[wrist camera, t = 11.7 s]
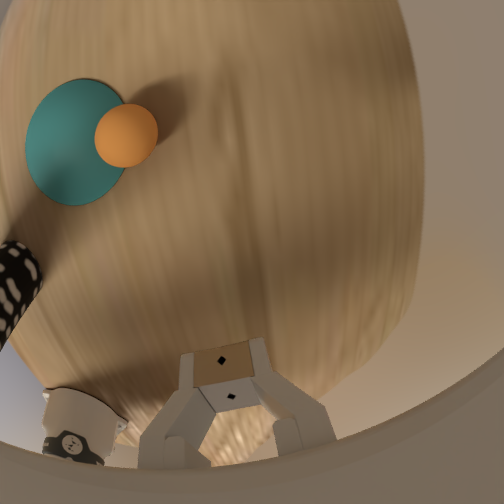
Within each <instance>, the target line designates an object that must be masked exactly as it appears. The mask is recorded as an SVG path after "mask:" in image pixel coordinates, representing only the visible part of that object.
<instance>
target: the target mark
mask: <svg viewBox="0 0 504 504" xmlns="http://www.w3.org/2000/svg"><path fill="white" fill-rule="evenodd" d="M119 105H123V103H122V101H121V99H120V98H119V97H118V96H117V94H116V93H115V92H114V91H113V90H111V89H110V88H109V87H107V86H106V85H104V84H102V83H99V82H97V81H92V80H74V81H71V82H67V83H65V84H63V85H61V86H59V87H57V88H56V89H54V90H53V91H52V92H50V93H49V94H48V95H47V96H46V97H45V98H44V99H43V100H42V102H41V103H40V104H39V106H38V107H37V109H36V110H35V112H34V114H33V116H32V118H31V121H30V124H29V127H28V130H27V135H26V143H25V152H26V160H27V165H28V168H29V171H30V174H31V176H32V178H33V180H34V182H35V183H36V185H37V186H38V187H39V189H40V190H41V191H42V192H43V193H44V194H45V195H46V196H48V197H49V198H51V199H52V200H54V201H56V202H59V203H61V204H65V205H83V204H87V203H90V202H92V201H95V200H96V199H98V198H100V197H101V196H103V195H104V194H105V193H106V192H108V191H109V190H110V189H111V188H112V187H113V186H114V184H115V183H116V182H117V180H118V179H119V177H120V176H121V174H122V172H123V170H124V168H121V167H115V166H112V165H110V164H108V163H106V162H105V161H104V160H103V159H102V158H101V157H100V155H99V154H98V152H97V150H96V146H95V132H96V128H97V125H98V123H99V121H100V120H101V118H102V117H103V116H104V115H105V114H106V113H107V112H108V111H110V110H111V109H113V108H114V107H117V106H119Z"/></svg>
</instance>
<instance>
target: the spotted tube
mask: <svg viewBox="0 0 504 504" xmlns="http://www.w3.org/2000/svg"><path fill="white" fill-rule="evenodd" d="M41 287H42V273H41V269H40V267H39V264H38V262H37V260H36V259H35V257H34V256H33V254H32V253H31V252H30V251H29V250H28V248H26V247H25V246H24V245H23V244H21V243H19V242H17V241H6V242H5V243H3V244H2V245H1V246H0V351H1V350H2V348H3V346H4V344H5V343H6V341H7V339H8V338H9V336H10V334H11V333H12V331H13V329H14V328H15V326H16V325H17V323H18V322H19V320H20V319H21V317H22V316H23V314H24V313H25V311H26V310H27V308H28V307H29V305H30V304H31V302H32V301H33V300H34V298H35V297H36V295H37V294H38V293H39V291H40V289H41Z"/></svg>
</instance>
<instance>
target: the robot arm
mask: <svg viewBox="0 0 504 504" xmlns="http://www.w3.org/2000/svg"><path fill="white" fill-rule="evenodd" d="M43 397H44V398H45V400H46V402H47V404H46V408H45V411H44V415H43V419H42V424H41V425H42V427H43V430H44V431H45V433H46V436H47V437H46V438H45V441H44V444H43V450H42V453H43V454H39V453H36V452H32V451H29V450H25V449H22V448H19V447H16V446H13V445H10V444H7V443H5V442H2V441H0V504H504V348H503V349H502V350H500V351H499V352H498V353H497V354H496V355H494V356H493V357H492V358H490V359H489V360H488V361H486V362H485V363H484V364H483V365H481V366H480V367H479V368H477V369H476V370H474V371H473V372H471V373H470V374H469V375H467V376H466V377H464V378H463V379H461V380H460V381H458V382H457V383H455V384H454V385H452V386H450V387H449V388H447V389H446V390H444V391H442V392H441V393H439V394H437V395H436V396H434V397H432V398H430V399H429V400H427V401H425V402H423V403H421V404H419V405H418V406H416V407H414V408H412V409H410V410H408V411H406V412H404V413H402V414H400V415H398V416H396V417H393V418H392V419H389V420H387V421H385V422H383V423H380V424H378V425H376V426H373V427H371V428H368V429H366V430H363V431H361V432H358V433H356V434H353V435H350V436H347V437H345V438H343V439H339V440H337V439H336V436H335V433H334V431H333V428H332V425H331V422H330V419H329V417H328V414H327V411H326V409H325V406H323V405H322V404H321V403H319V402H318V401H316V400H315V399H313V398H312V397H311V396H309V395H308V394H306V393H305V392H303V391H302V390H301V389H299V388H298V387H297V386H295V385H294V384H292V383H291V382H290V381H288V380H287V379H286V378H284V377H283V376H282V375H280V374H279V373H278V372H276V371H274V372H273V370H272V366H271V363H270V359H269V356H268V352H267V349H266V345H265V342H264V338H263V337H259V338H255V339H251V340H247V341H243V342H239V343H235V344H231V345H226V346H222V347H218V348H213V349H208V350H202V351H196V352H192V353H186V354H182V355H181V358H180V371H179V389H178V391H174V393H173V394H172V395H171V397H170V398H169V399H168V401H167V402H166V403H165V405H164V406H163V407H162V409H161V410H160V411H159V413H158V414H157V415H156V417H155V418H154V419H153V420H152V422H151V423H150V424H149V426H148V427H147V428H146V430H145V431H144V432H143V434H142V435H141V436H140V443H139V454H138V468H137V469H134V468H119V467H108V466H104V463H105V462H104V459H105V457H107V456H110V455H111V454H112V453H113V452H114V450H115V440H116V436H117V435H118V434H119V433H120V432H121V431H122V430H124V429H125V428H126V427H127V423H128V422H127V421H126V420H124V419H123V418H121V417H119V416H118V415H116V414H115V412H114V411H113V410H112V409H111V408H109V407H108V406H107V405H105V404H104V403H102V402H101V401H99V400H97V399H96V398H94V397H92V396H89V395H87V394H85V393H82V392H79V391H76V390H72V389H67V388H58V389H55V390H43ZM255 405H262V406H263V407H264V408H265V409H266V410H267V411H268V412H269V413H270V414H272V415H273V416H274V417H275V418H276V419H277V421H275V423H274V424H273V430H274V435H275V440H276V445H277V450H278V455H279V456H278V457H274V458H269V459H264V460H259V461H253V462H247V463H240V464H233V465H226V466H217V467H211V461H210V460H208V459H207V458H206V457H205V456H203V455H202V454H201V453H200V452H199V451H198V449H199V447H200V445H201V443H202V441H203V439H204V437H205V435H206V434H207V432H208V430H209V428H210V426H211V424H212V422H213V420H214V418H215V416H216V413H219V412H224V411H229V410H234V409H239V408H245V407H250V406H255Z"/></svg>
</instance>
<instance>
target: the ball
mask: <svg viewBox="0 0 504 504" xmlns="http://www.w3.org/2000/svg"><path fill="white" fill-rule="evenodd" d="M157 138H158V127H157V123H156V121H155V119H154V117H153V115H152V114H151V113H150V112H149V111H148V110H147V109H145V108H144V107H142V106H139V105H135V104H123V105H119V106H117V107H114V108H113V109H111V110H110V111H108V112H107V113H106V114H105V115H104V116H103V117H102V118H101V120H100V121H99V123H98V125H97V128H96V132H95V146H96V150H97V152H98V154H99V155H100V157H101V158H102V159H103V160H104V161H105V162H106V163H108V164H110V165H112V166H115V167H121V168H126V167H132V166H135V165H137V164H139V163H141V162H142V161H144V160H145V159H146V158H147V157H148V156H149V155H150V154H151V152H152V151H153V149H154V147H155V145H156V142H157Z"/></svg>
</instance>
